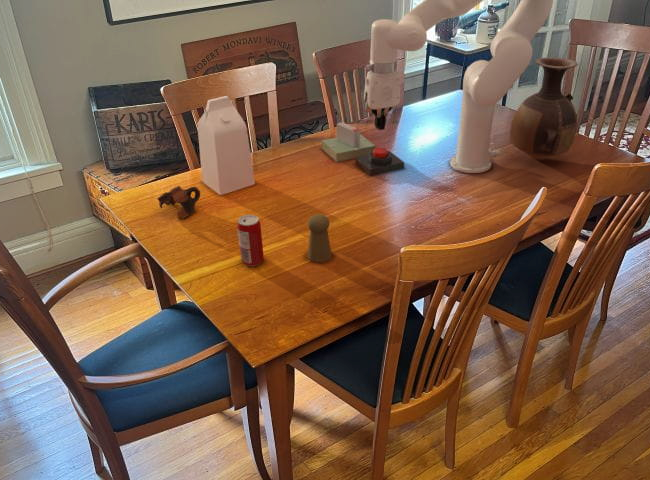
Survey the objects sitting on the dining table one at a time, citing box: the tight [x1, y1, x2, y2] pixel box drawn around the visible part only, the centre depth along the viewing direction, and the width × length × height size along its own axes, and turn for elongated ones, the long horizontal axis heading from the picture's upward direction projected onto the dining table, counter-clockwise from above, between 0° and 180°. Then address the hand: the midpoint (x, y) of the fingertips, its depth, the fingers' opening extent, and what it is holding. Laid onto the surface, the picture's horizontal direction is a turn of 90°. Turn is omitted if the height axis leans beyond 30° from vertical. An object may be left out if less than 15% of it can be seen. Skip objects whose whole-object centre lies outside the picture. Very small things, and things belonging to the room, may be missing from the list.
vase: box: [509, 56, 579, 160], centre depth 189 cm, size 23×19×30 cm
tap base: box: [321, 133, 376, 163], centre depth 205 cm, size 14×13×3 cm
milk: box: [197, 95, 256, 196], centre depth 181 cm, size 12×12×26 cm
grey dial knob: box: [336, 121, 361, 148], centre depth 202 cm, size 9×2×6 cm, turn 38°
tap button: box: [373, 147, 388, 158], centre depth 193 cm, size 4×4×2 cm
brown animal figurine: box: [157, 185, 201, 220], centre depth 175 cm, size 12×10×8 cm
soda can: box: [236, 214, 265, 267], centre depth 150 cm, size 6×6×12 cm
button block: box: [355, 150, 405, 177], centre depth 195 cm, size 12×10×4 cm
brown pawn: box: [307, 213, 332, 263], centre depth 151 cm, size 6×6×11 cm
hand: (379, 128), depth 188 cm, fingers closed
